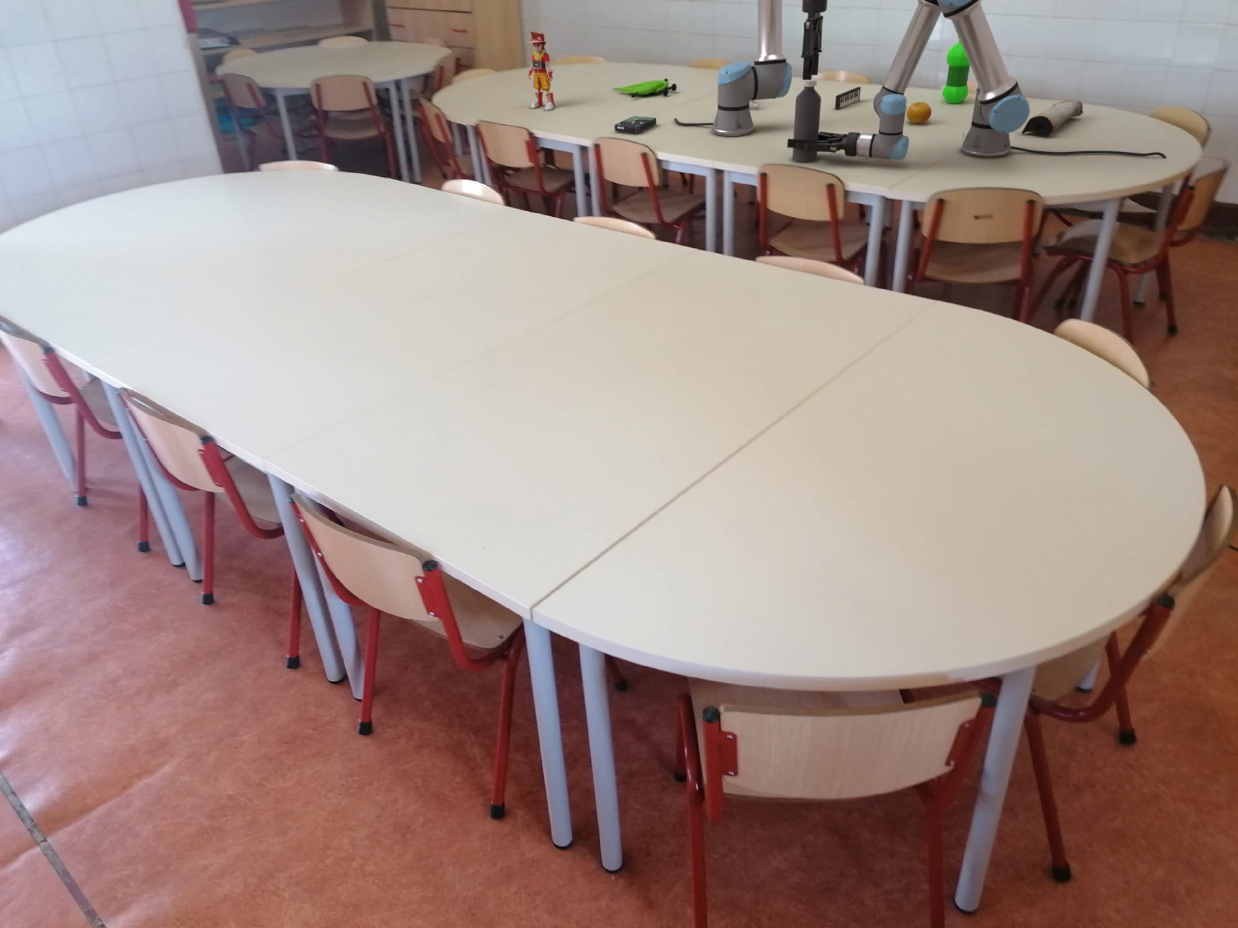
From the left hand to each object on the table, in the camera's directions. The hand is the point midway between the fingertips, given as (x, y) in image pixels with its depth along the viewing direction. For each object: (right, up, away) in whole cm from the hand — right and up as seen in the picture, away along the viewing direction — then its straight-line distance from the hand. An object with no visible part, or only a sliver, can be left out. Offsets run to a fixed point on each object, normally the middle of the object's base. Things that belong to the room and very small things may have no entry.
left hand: (810, 77), depth 289 cm
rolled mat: (+93, -4, +31) cm, 99 cm away
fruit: (+50, +2, +44) cm, 67 cm away
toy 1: (-94, +28, +94) cm, 136 cm away
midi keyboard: (+30, +20, +71) cm, 80 cm away
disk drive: (-55, +5, +58) cm, 80 cm away
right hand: (-3, -15, +14) cm, 21 cm away
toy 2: (-52, +40, +108) cm, 127 cm away
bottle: (+1, -21, +15) cm, 26 cm away
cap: (0, -1, +1) cm, 1 cm away
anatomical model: (-11, +22, +78) cm, 82 cm away
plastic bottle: (+71, +19, +66) cm, 99 cm away
